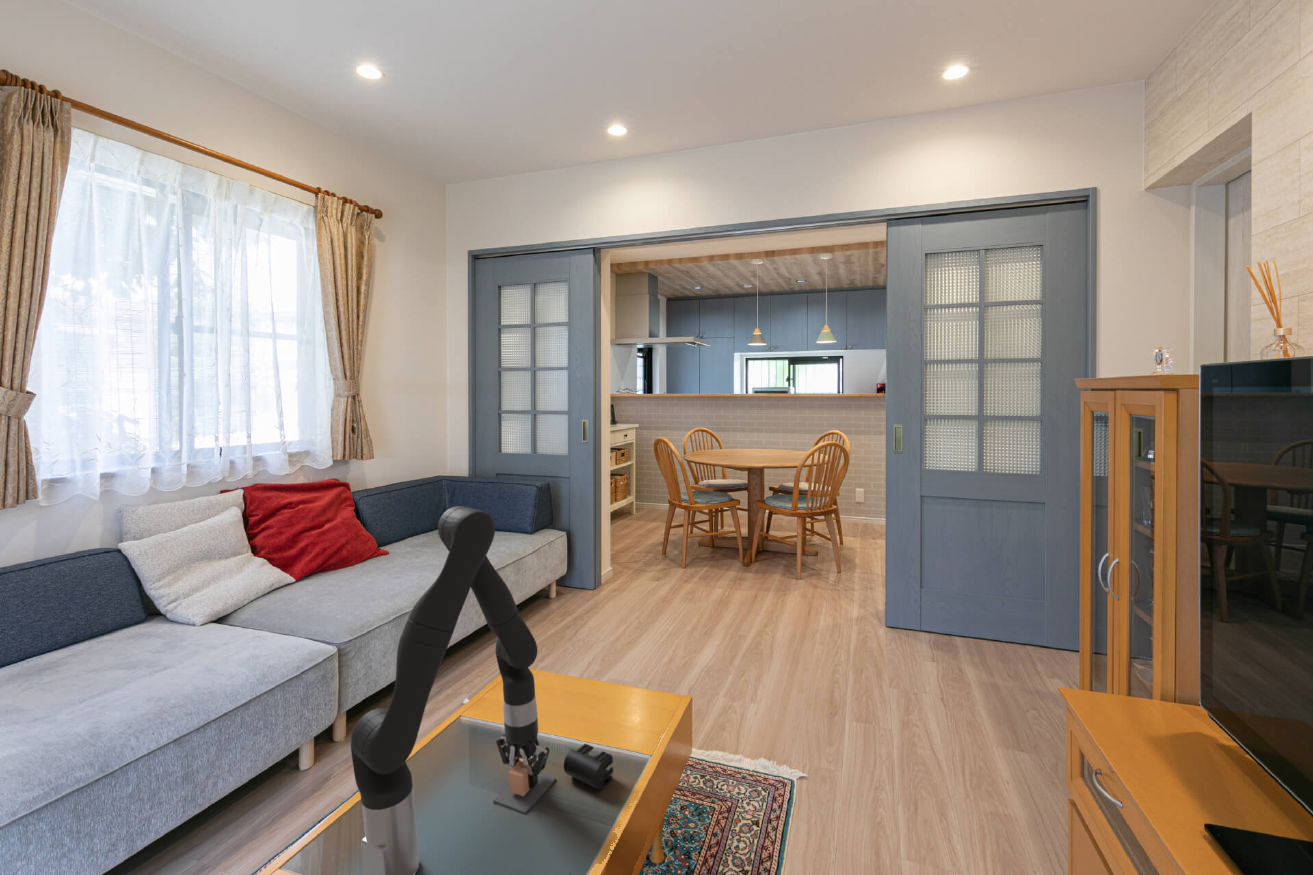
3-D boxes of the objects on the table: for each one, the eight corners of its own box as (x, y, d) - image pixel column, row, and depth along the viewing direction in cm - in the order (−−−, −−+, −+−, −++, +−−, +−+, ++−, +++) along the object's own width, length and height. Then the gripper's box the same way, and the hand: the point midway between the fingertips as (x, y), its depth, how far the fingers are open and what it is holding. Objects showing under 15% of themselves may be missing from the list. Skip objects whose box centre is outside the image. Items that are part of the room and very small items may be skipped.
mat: (525, 813, 138) (525, 811, 138) (493, 802, 141) (493, 800, 141) (556, 779, 148) (555, 777, 148) (525, 769, 152) (525, 767, 152)
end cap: (563, 781, 148) (562, 755, 147) (583, 764, 154) (582, 739, 153) (595, 797, 142) (594, 770, 141) (615, 779, 148) (614, 753, 147)
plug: (523, 796, 141) (522, 776, 140) (509, 791, 143) (508, 771, 142) (545, 772, 149) (544, 753, 148) (532, 768, 151) (531, 749, 150)
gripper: (485, 717, 142) (490, 785, 144) (536, 732, 136) (540, 803, 138) (506, 700, 149) (510, 765, 151) (555, 713, 143) (559, 781, 145)
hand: (524, 783), depth 145 cm, fingers closed on plug, 4 cm apart
